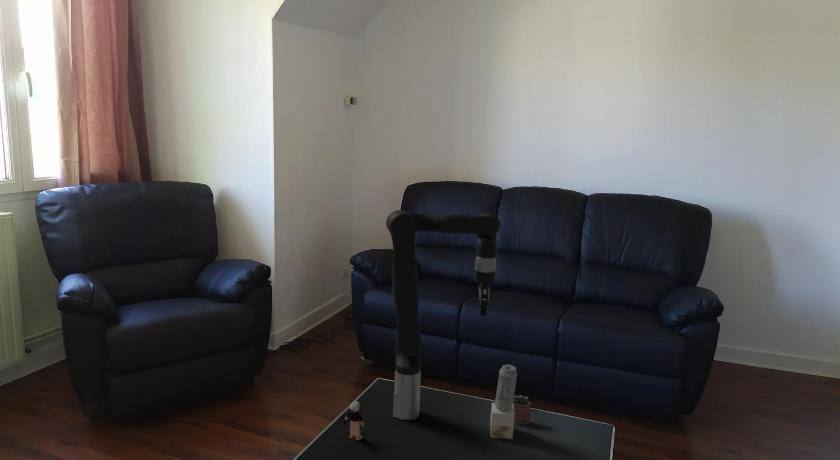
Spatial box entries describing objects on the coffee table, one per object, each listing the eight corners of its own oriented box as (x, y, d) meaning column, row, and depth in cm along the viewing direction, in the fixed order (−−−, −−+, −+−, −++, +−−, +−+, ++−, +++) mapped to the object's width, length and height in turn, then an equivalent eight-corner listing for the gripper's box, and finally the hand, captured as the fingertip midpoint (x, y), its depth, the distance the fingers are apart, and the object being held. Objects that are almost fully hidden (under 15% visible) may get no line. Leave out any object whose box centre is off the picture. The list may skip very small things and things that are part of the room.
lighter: (529, 420, 220) (531, 394, 218) (530, 425, 216) (532, 399, 214) (507, 418, 220) (508, 393, 218) (507, 423, 217) (509, 397, 215)
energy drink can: (515, 409, 208) (521, 369, 205) (503, 413, 205) (509, 372, 202) (503, 402, 213) (509, 362, 210) (490, 405, 209) (496, 365, 206)
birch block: (490, 437, 207) (491, 425, 206) (490, 426, 214) (490, 414, 213) (512, 439, 206) (513, 427, 205) (511, 428, 214) (512, 416, 213)
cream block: (491, 425, 206) (492, 412, 205) (491, 414, 214) (491, 402, 213) (513, 427, 206) (514, 414, 205) (512, 416, 213) (513, 404, 212)
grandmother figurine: (367, 436, 205) (367, 401, 202) (362, 441, 201) (363, 406, 199) (346, 431, 207) (347, 397, 205) (341, 437, 203) (342, 402, 201)
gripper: (474, 263, 224) (472, 305, 227) (475, 273, 210) (472, 317, 213) (494, 264, 224) (492, 306, 227) (496, 274, 210) (494, 318, 213)
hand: (482, 311), depth 220 cm, fingers open, 8 cm apart
